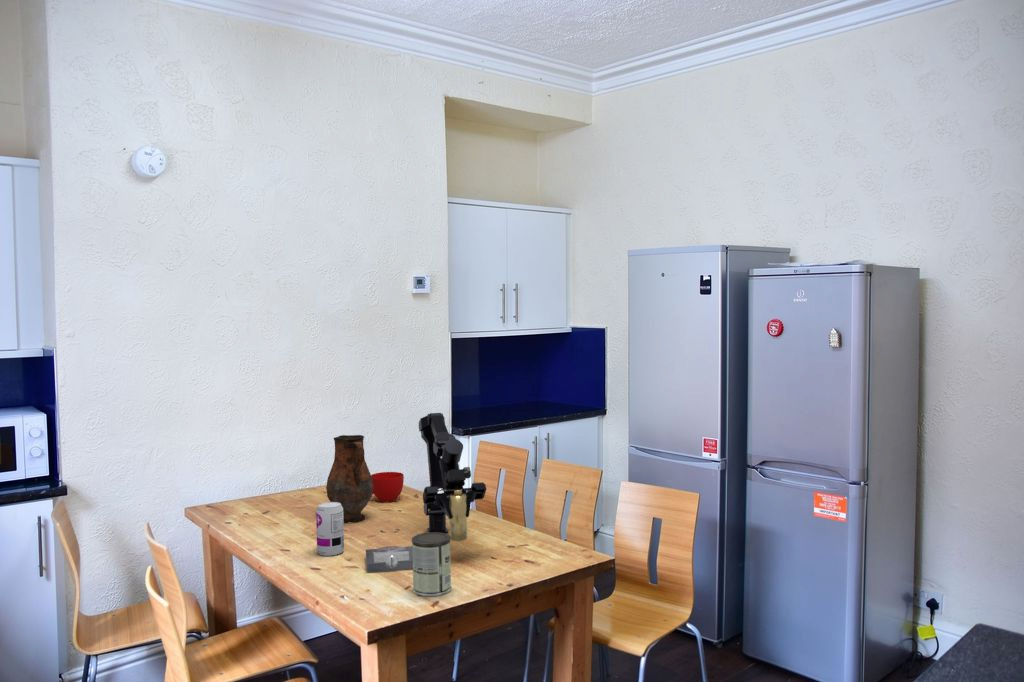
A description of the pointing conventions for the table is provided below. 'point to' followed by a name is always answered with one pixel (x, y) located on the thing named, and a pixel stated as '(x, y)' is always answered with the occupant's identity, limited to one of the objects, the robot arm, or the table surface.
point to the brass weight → (458, 515)
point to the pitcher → (350, 477)
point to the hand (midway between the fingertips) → (459, 517)
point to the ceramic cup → (387, 485)
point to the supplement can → (330, 528)
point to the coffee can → (431, 564)
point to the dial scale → (389, 559)
